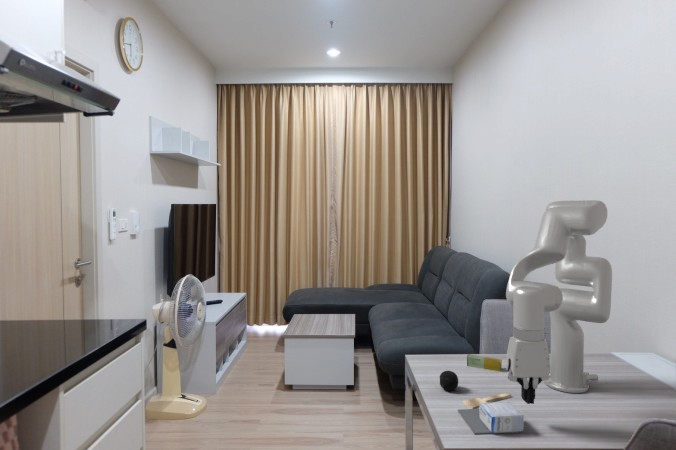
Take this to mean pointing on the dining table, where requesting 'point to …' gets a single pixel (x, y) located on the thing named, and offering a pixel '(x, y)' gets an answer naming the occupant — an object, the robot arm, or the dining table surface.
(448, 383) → the billiard ball
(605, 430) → the dining table surface
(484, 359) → the medication box
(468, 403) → the wooden turner
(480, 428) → the mat
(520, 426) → the medicine box
